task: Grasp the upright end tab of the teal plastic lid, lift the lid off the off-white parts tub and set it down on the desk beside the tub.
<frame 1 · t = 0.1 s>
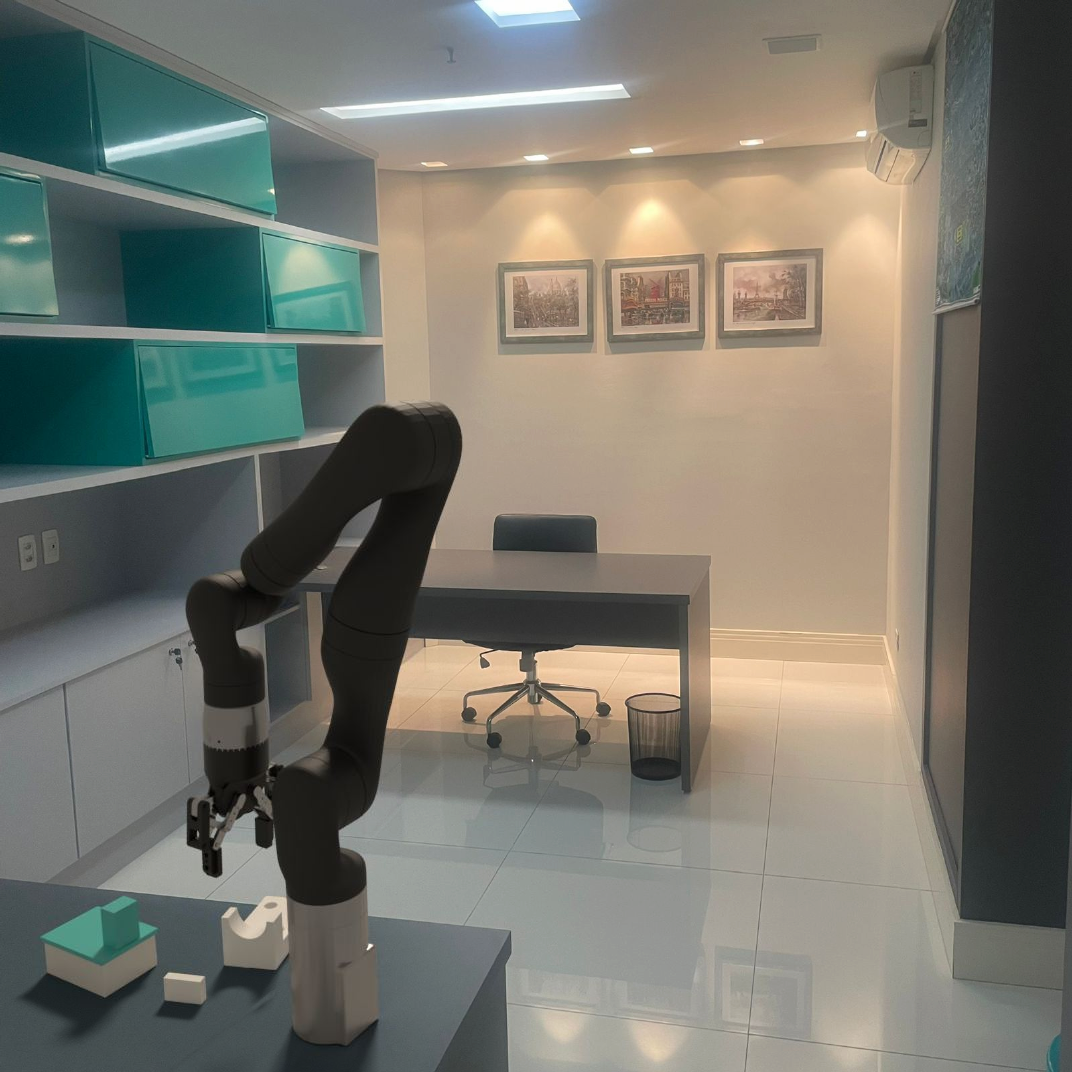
hand: (239, 860, 128), 17 cm above the table, tool pointing down, fingers open, 8 cm apart
bracket: (271, 947, 141), on the table
block b: (89, 963, 136), point 1 cm above the table, touching tub
tub: (102, 972, 135), on the table
eraser: (186, 1005, 128), on the table
block a: (115, 973, 134), point 1 cm above the table, touching tub
lid: (99, 936, 134), point 5 cm above the table, touching tub
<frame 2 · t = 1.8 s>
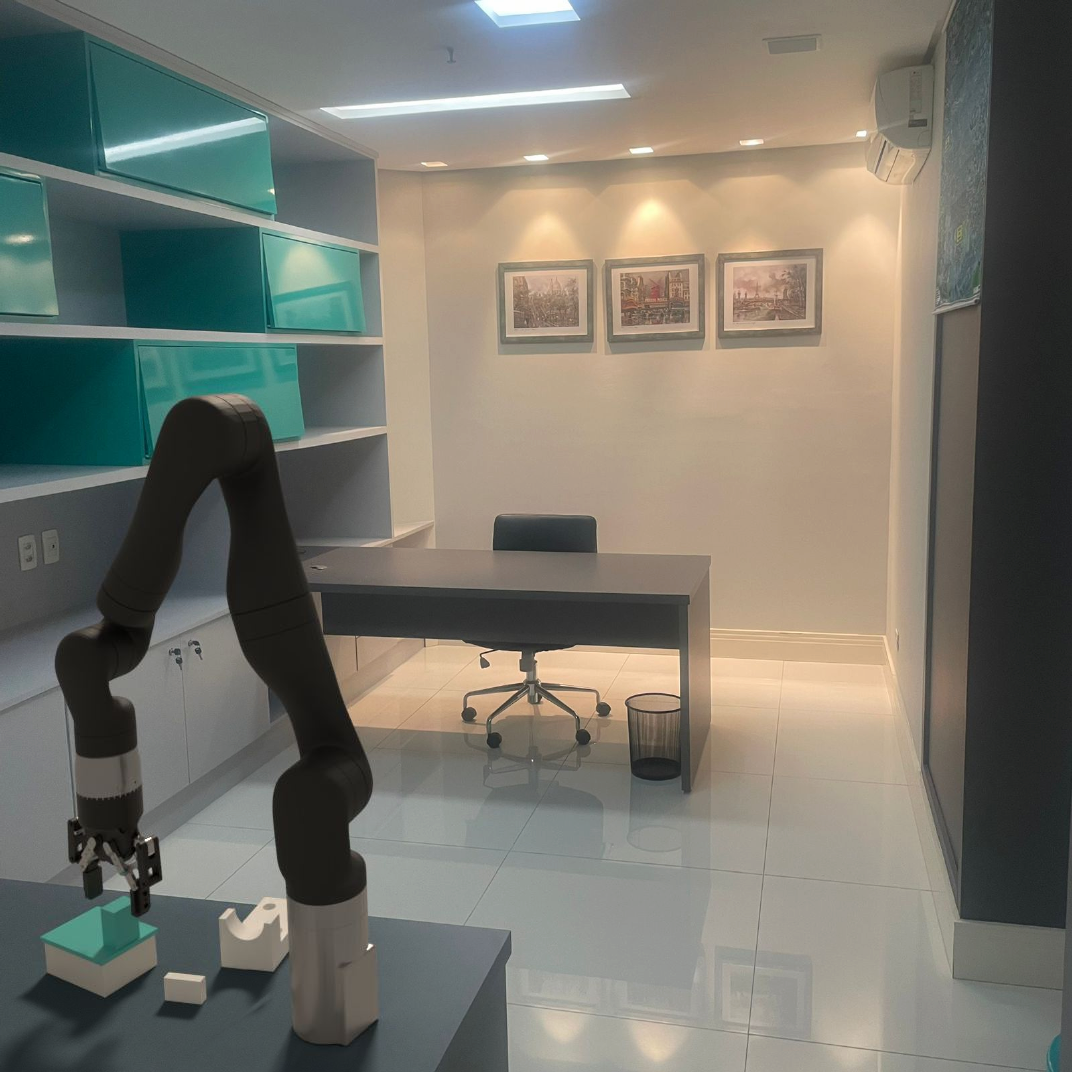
hand: (117, 905, 131), 10 cm above the table, tool pointing down, fingers open, 8 cm apart
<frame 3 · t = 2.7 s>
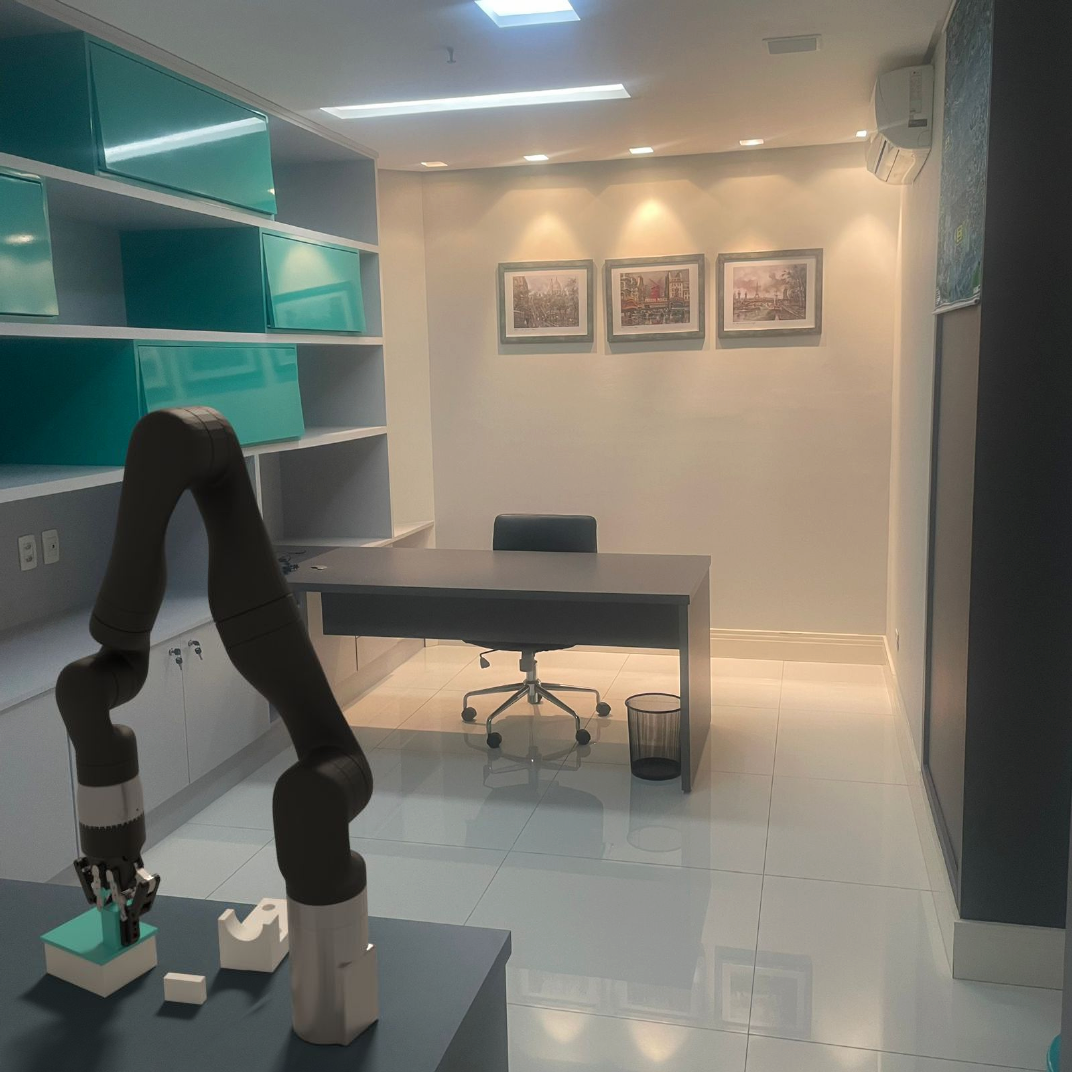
hand: (121, 939, 132), 6 cm above the table, tool pointing down, fingers closed on lid, 2 cm apart
lid: (99, 936, 134), point 5 cm above the table, touching gripper, tub
everything else where it was.
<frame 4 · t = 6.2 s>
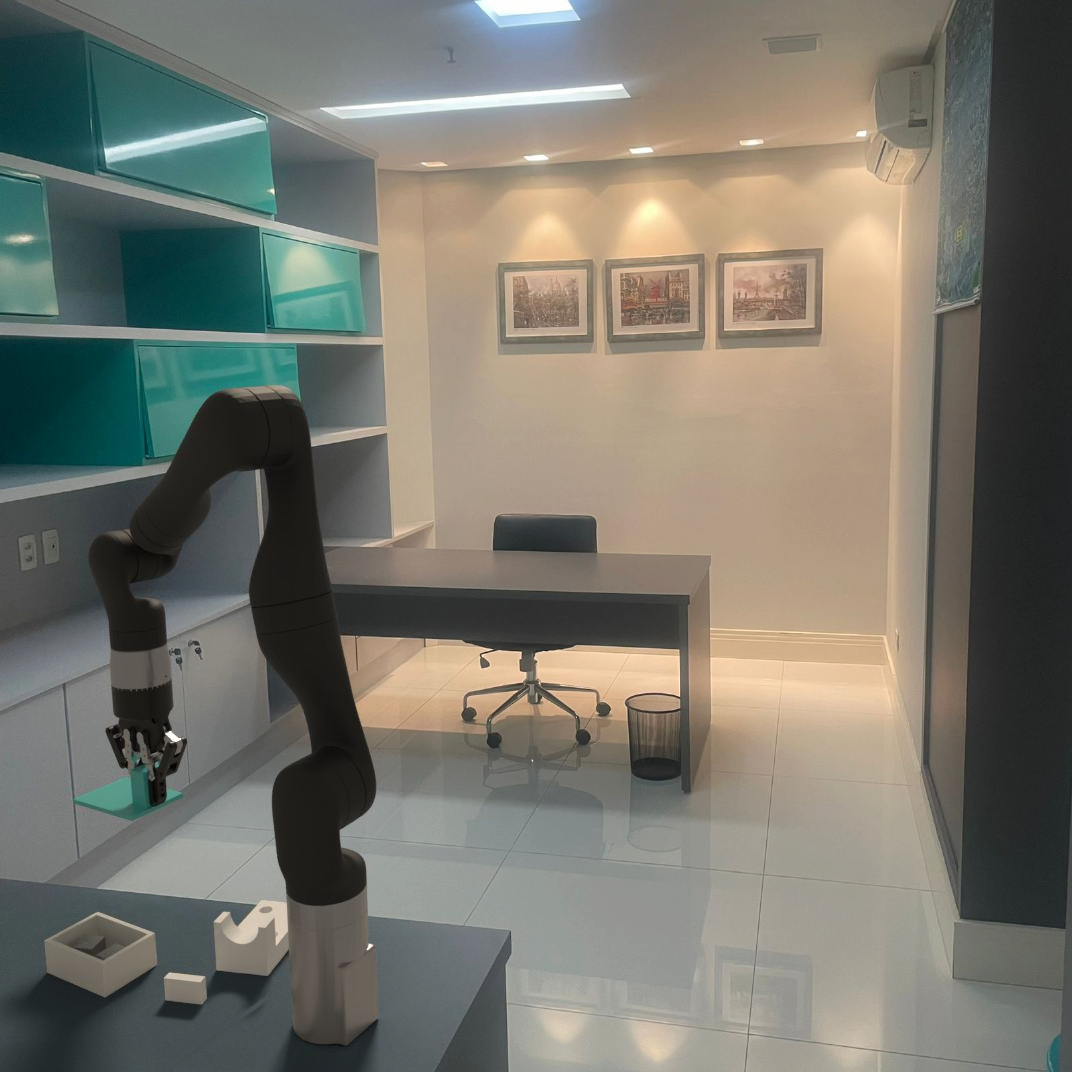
hand: (150, 801, 142), 19 cm above the table, tool pointing down, fingers closed on lid, 2 cm apart
lid: (128, 800, 144), point 18 cm above the table, touching gripper
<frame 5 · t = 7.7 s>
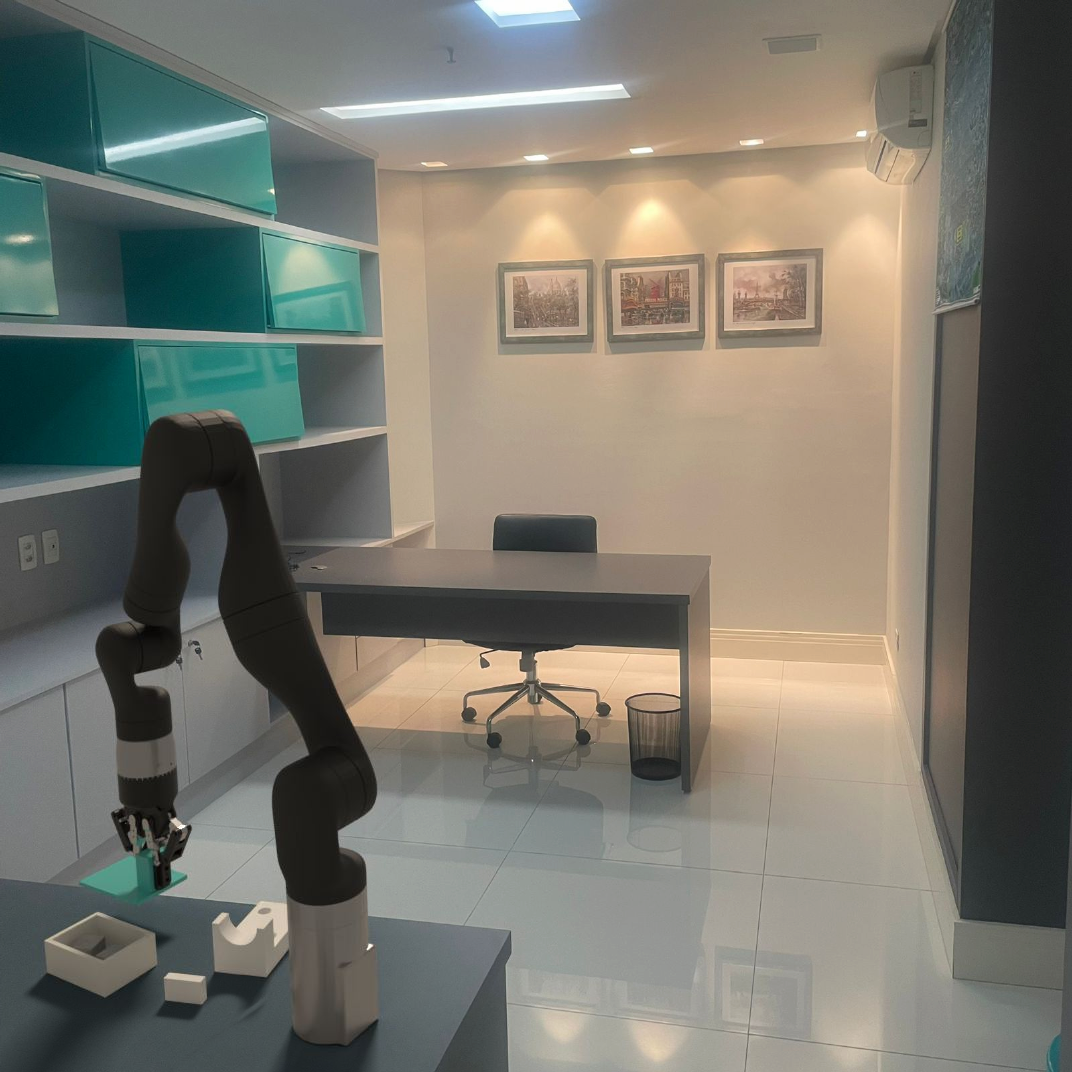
hand: (155, 884, 144), 7 cm above the table, tool pointing down, fingers closed on lid, 2 cm apart
lid: (133, 882, 146), point 6 cm above the table, touching gripper
when the fingers open (2 cm above the table, at t = 9.2 s): lid drops 2 cm, on the table.
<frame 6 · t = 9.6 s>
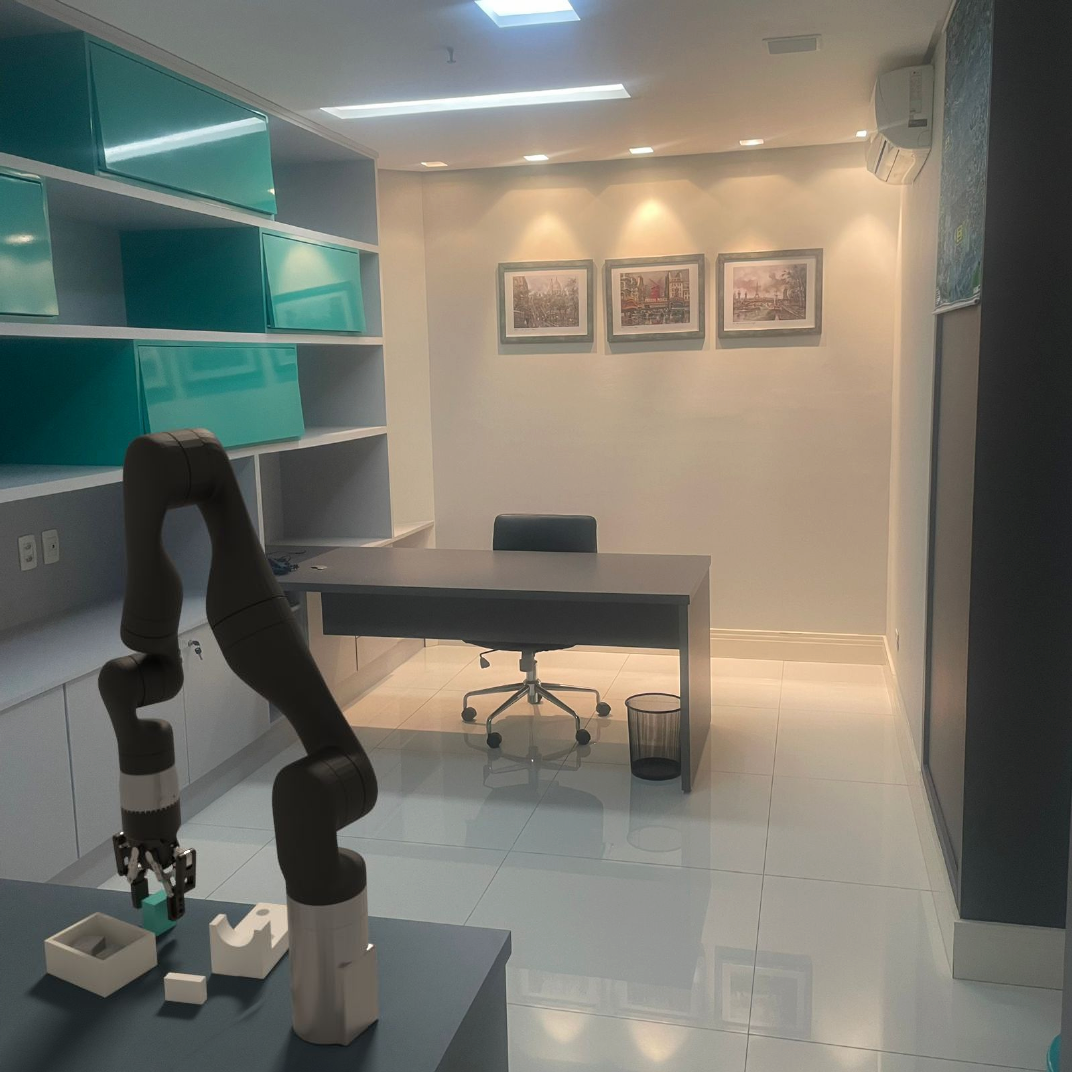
hand: (158, 911, 144), 3 cm above the table, tool pointing down, fingers open, 6 cm apart
lid: (140, 926, 147), on the table
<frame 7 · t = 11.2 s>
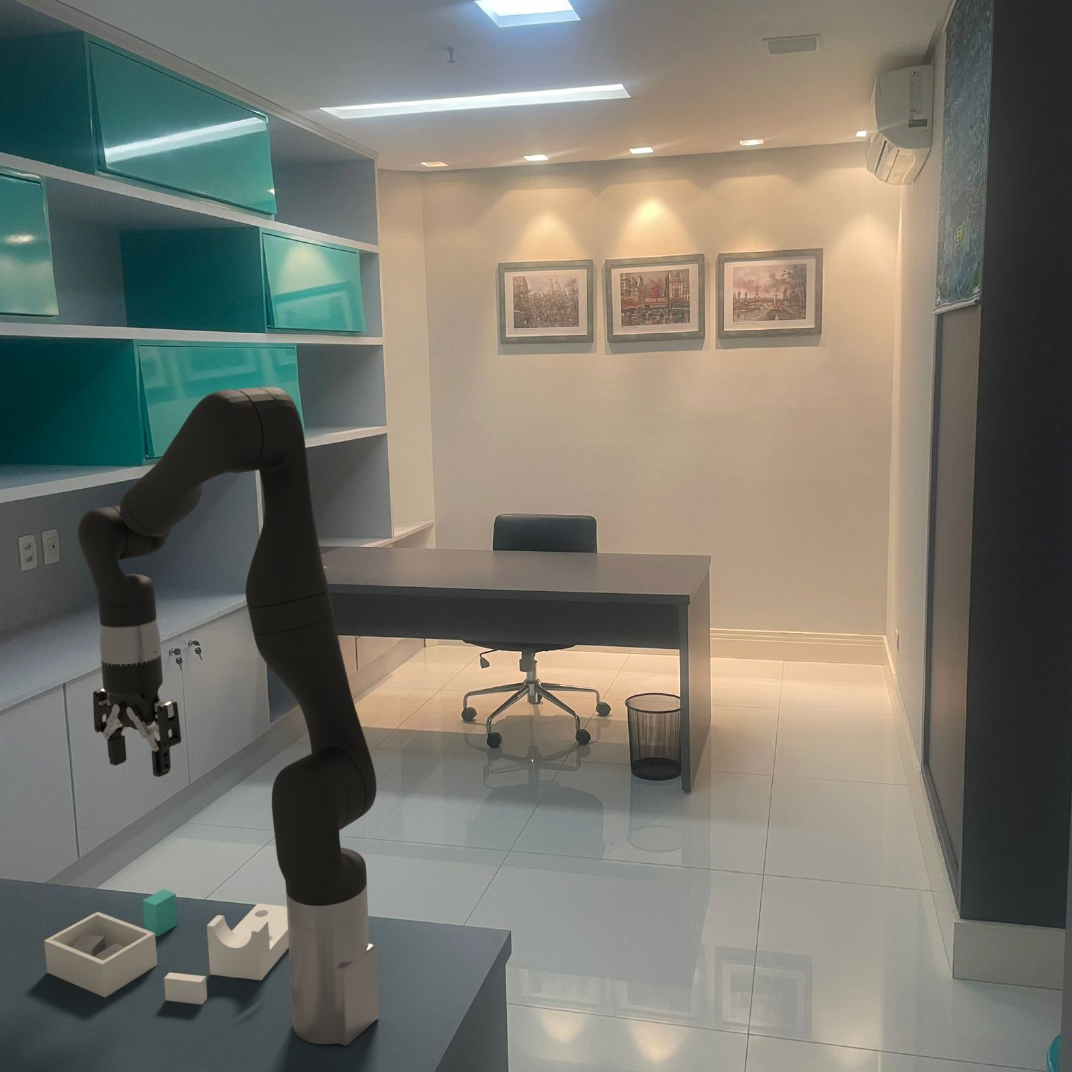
hand: (139, 768, 143), 23 cm above the table, tool pointing down, fingers open, 8 cm apart
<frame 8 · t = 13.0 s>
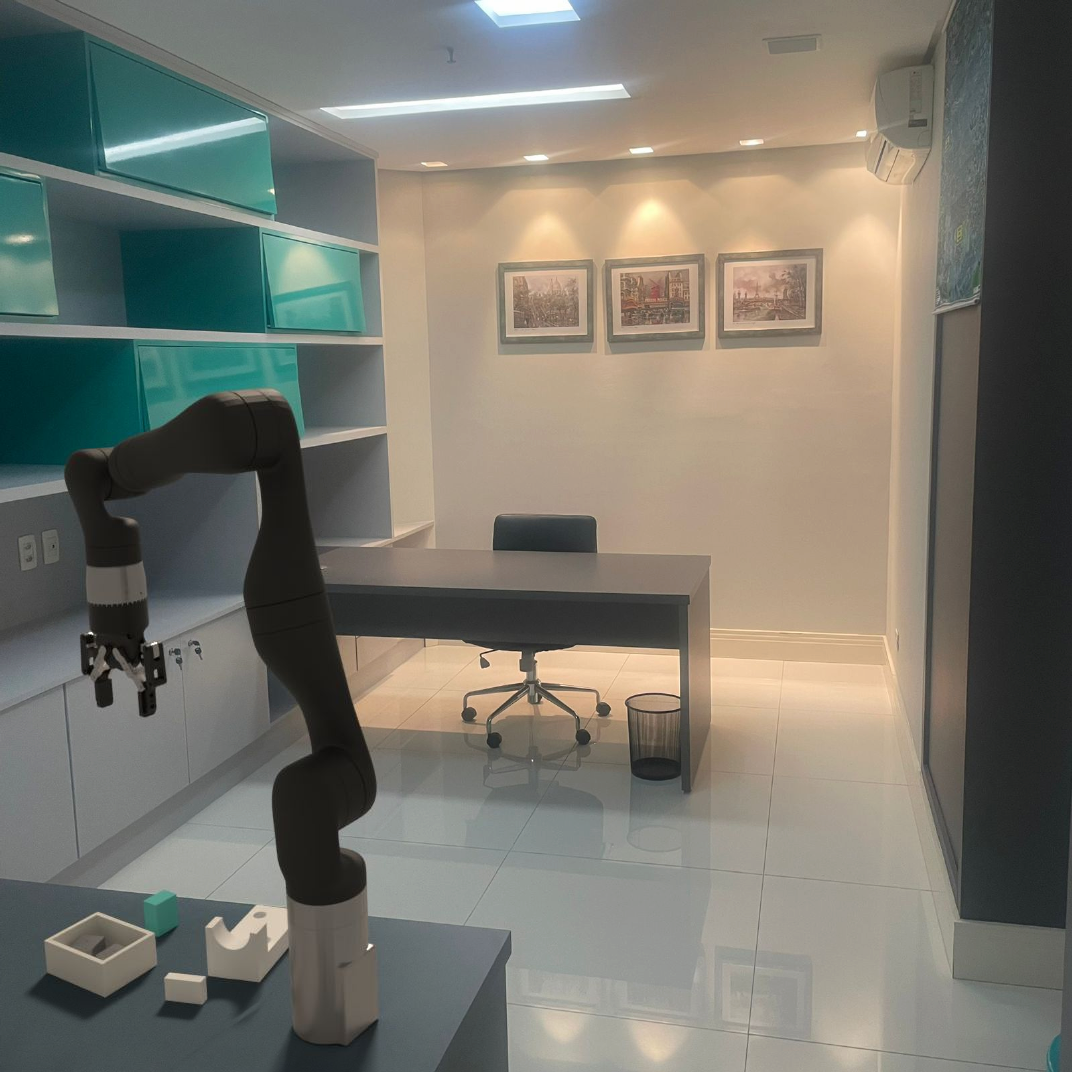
hand: (126, 710, 144), 30 cm above the table, tool pointing down, fingers open, 8 cm apart
at the end: lid inside the target area (2.1 cm from its centre), on the table; lid touching table; the gripper is holding nothing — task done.
